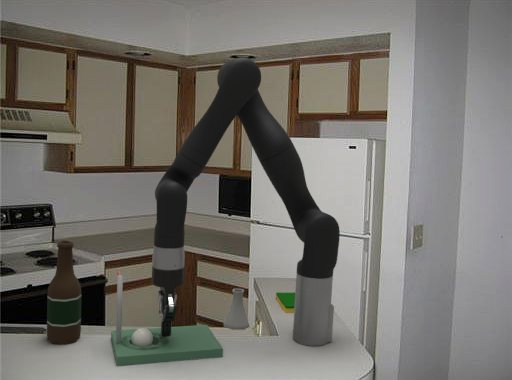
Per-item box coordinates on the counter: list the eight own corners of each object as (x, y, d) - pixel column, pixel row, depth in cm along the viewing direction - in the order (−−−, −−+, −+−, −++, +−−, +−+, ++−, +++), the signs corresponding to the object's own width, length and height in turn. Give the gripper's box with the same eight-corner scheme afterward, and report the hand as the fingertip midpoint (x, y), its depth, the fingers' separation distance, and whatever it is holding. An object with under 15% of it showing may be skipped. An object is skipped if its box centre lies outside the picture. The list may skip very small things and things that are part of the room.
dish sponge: (285, 314, 164) (285, 306, 164) (275, 299, 178) (275, 292, 177) (308, 314, 165) (309, 306, 165) (297, 299, 179) (297, 292, 179)
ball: (126, 333, 133) (137, 349, 134) (128, 341, 128) (140, 357, 130) (144, 321, 134) (155, 337, 135) (147, 328, 129) (158, 344, 131)
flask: (246, 332, 147) (248, 295, 146) (219, 329, 148) (221, 292, 147) (252, 323, 154) (254, 287, 153) (226, 320, 155) (228, 285, 154)
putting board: (206, 332, 145) (209, 264, 143) (222, 356, 130) (226, 281, 128) (111, 338, 138) (112, 267, 136) (116, 365, 123) (118, 285, 121)
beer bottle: (87, 337, 138) (89, 241, 135) (64, 347, 131) (65, 246, 128) (63, 330, 141) (64, 237, 139) (39, 340, 134) (40, 242, 132)
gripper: (189, 271, 127) (186, 344, 129) (178, 257, 139) (176, 324, 141) (156, 272, 124) (154, 347, 126) (148, 258, 137) (146, 326, 139)
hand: (165, 335), depth 134 cm, fingers closed
